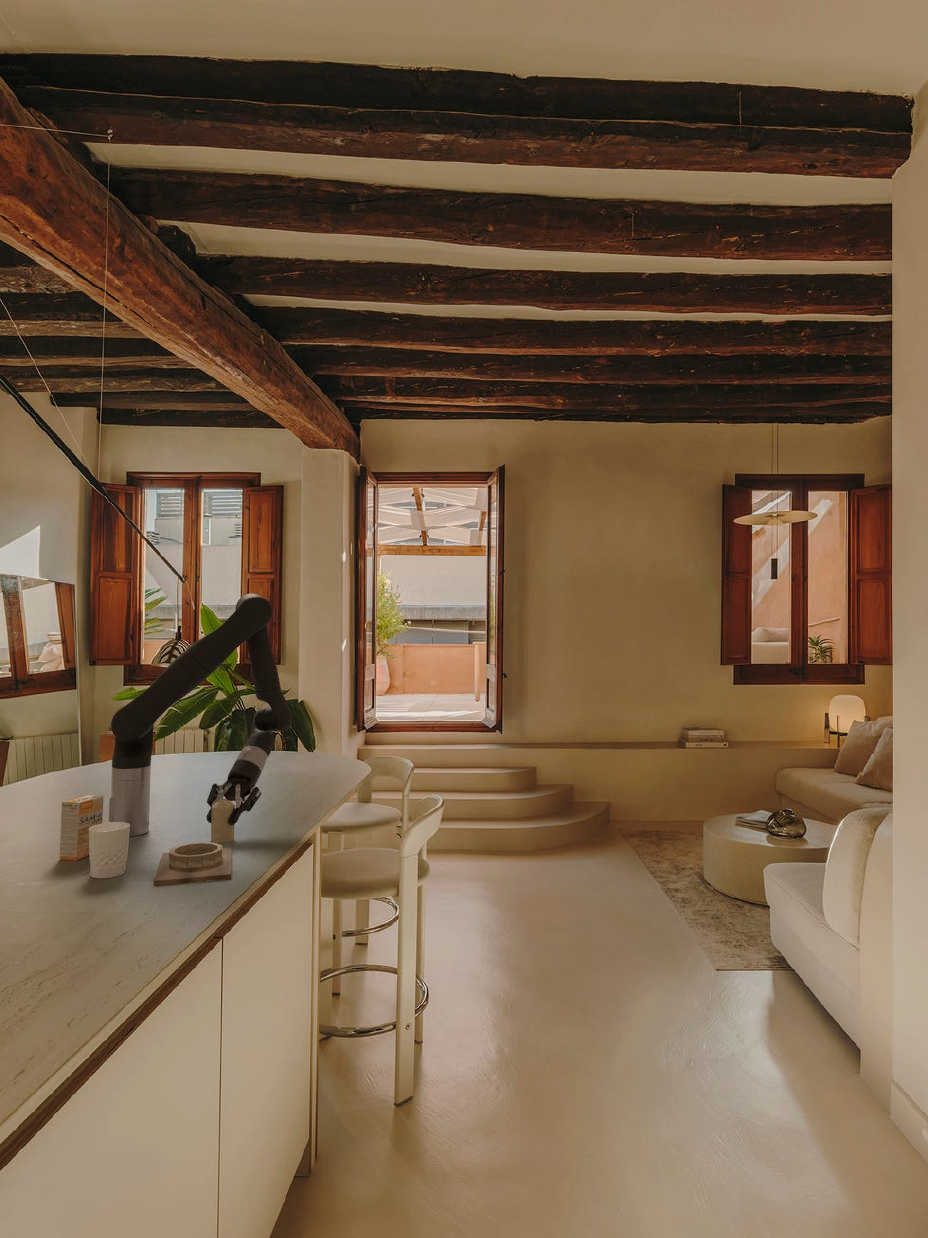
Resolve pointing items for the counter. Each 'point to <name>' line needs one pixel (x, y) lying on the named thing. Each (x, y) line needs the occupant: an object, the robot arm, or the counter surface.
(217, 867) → the candle holder tray
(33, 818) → the counter surface
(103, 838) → the white cup
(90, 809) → the supplement box
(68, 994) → the counter surface
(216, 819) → the candle
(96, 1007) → the counter surface
